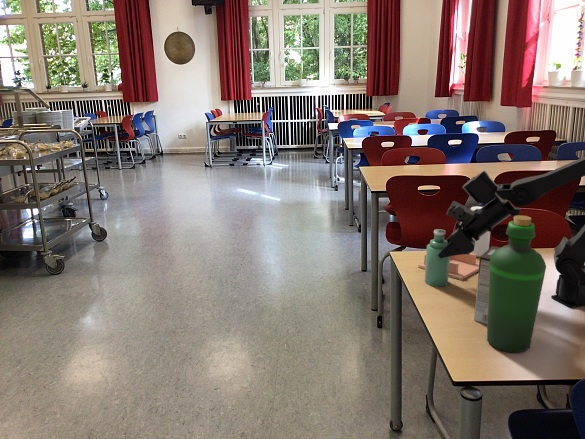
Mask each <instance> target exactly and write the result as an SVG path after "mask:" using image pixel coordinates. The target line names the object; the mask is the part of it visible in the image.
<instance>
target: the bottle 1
mask: <svg viewBox="0 0 585 439" xmlns="http://www.w3.org/2000/svg"><path fill="white" fill-rule="evenodd" d="M433 235H434V238H433V239H430V241H429V243H428V244H426V254H425V255H426V269H424V270H425V271H424V272H425V273H424V283H425V284H426V285H428V286H432V287H435V288H437V287H438V288H439V287H440V288H441V287H445V286H447V285H448V284H449V277H448V275H449V261H450V257H444V258H440V257H439V256H438V254H439V253H440V252H441V251H442V250H443V249H444V248H445V247H446V246H447V245H448V241H446V240H447V239H445V235H446V230H444V229H438V228H436V229H434V230H433Z"/></svg>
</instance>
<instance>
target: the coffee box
mask: <svg viewBox="0 0 585 439" xmlns="http://www.w3.org/2000/svg"><path fill="white" fill-rule="evenodd" d="M499 248H501V247H499V246H495V245H494V246H493V245H491V247H489V249H488V250H487V251H486V252H485V253H484V254H483V255H481V256H480V257H479V262H478V263H479V271H477V273H478V274H477V284H476V294H475V295H476V297H475V306H474V316H473V321H475V322H478V323H482V324H484V325H488V298H489V272H490V256H491V255H492V254H493V252H494V251H495V250H497V249H499Z"/></svg>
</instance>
